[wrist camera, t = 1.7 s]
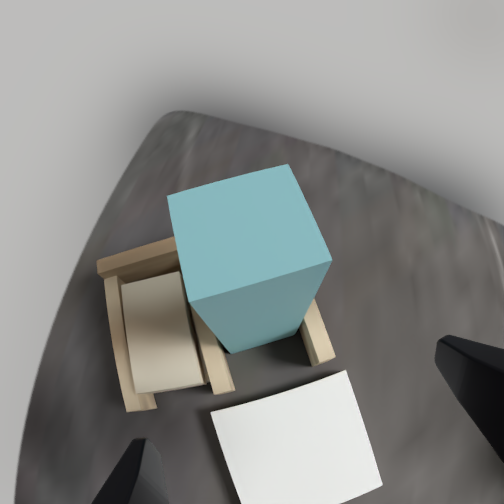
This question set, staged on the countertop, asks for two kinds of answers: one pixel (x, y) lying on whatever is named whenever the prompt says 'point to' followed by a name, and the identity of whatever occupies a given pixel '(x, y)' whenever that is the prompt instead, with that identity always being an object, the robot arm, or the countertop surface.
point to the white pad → (299, 446)
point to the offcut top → (161, 335)
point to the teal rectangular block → (249, 255)
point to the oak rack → (165, 262)
